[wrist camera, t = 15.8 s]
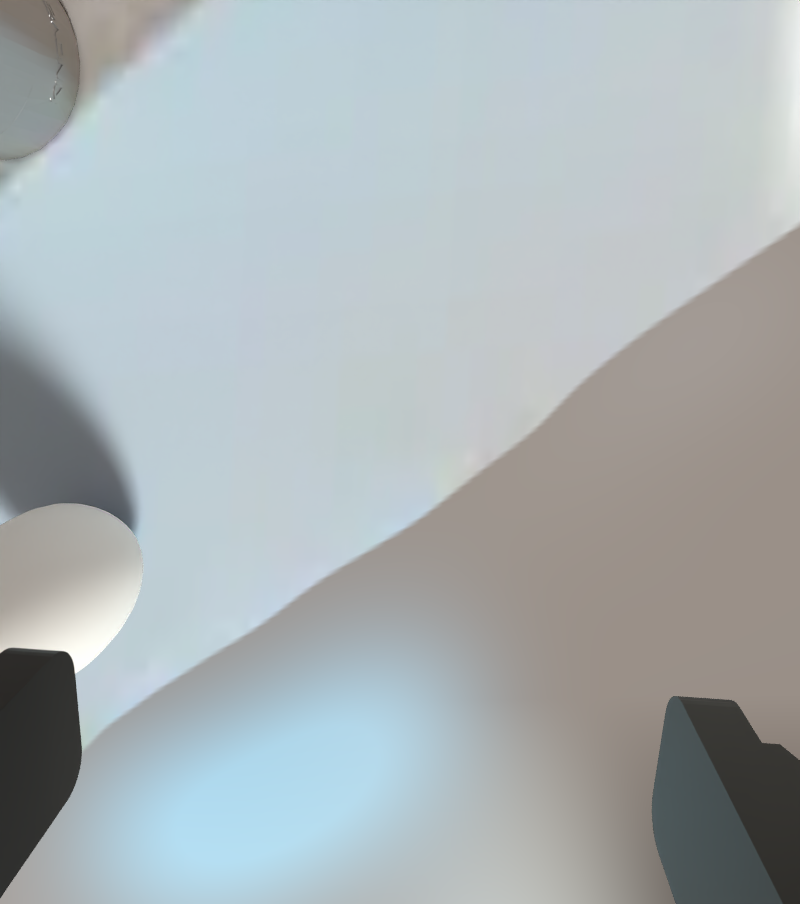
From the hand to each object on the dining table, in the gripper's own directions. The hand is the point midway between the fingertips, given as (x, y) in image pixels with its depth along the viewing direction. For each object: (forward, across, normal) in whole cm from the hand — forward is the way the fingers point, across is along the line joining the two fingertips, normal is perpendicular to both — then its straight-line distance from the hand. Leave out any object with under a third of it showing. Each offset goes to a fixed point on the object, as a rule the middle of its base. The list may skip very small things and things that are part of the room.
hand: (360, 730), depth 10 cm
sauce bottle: (+30, +18, +11) cm, 37 cm away
